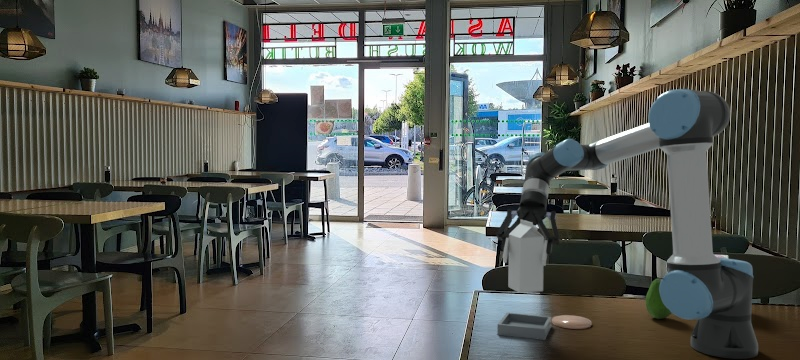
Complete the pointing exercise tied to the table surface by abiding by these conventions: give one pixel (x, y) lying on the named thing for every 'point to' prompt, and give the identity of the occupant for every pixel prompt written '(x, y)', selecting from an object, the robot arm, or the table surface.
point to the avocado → (656, 301)
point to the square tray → (524, 326)
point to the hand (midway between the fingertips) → (523, 261)
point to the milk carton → (525, 258)
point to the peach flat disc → (571, 322)
